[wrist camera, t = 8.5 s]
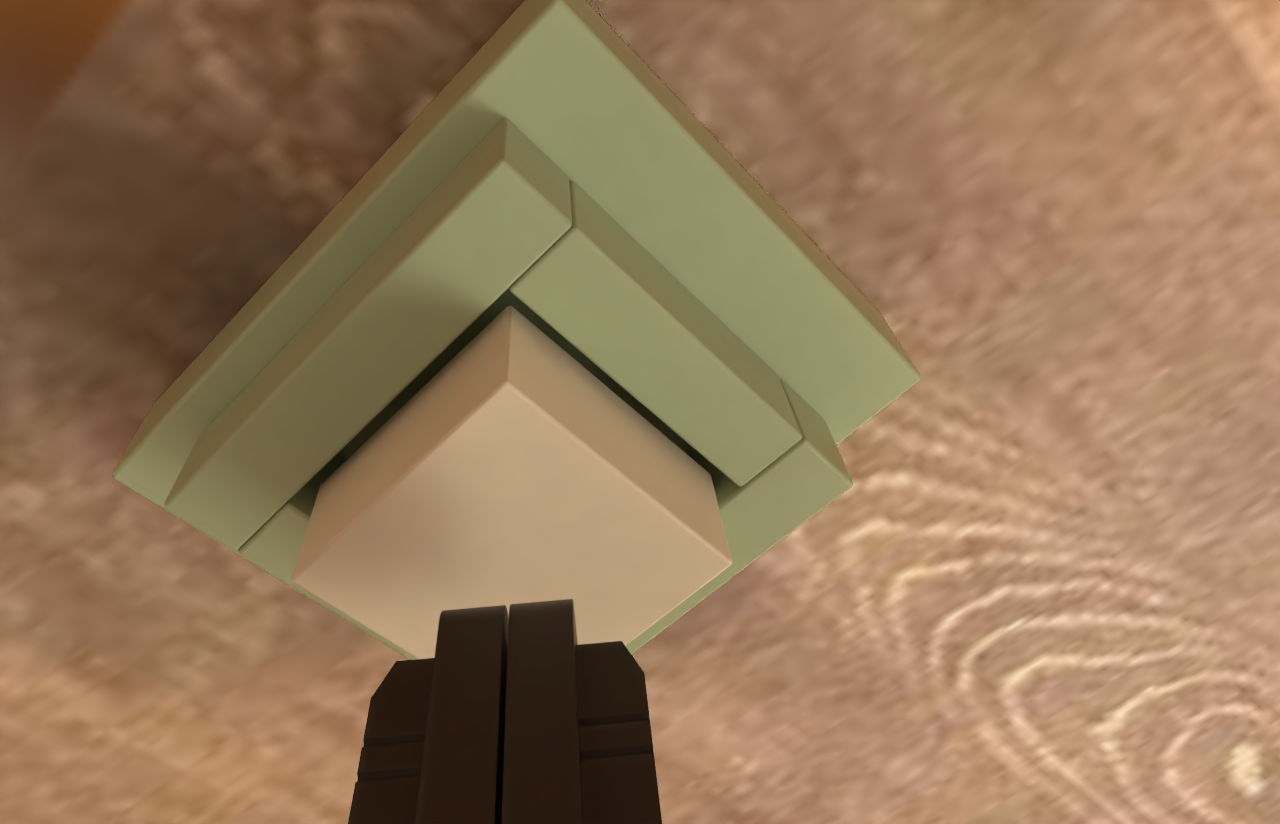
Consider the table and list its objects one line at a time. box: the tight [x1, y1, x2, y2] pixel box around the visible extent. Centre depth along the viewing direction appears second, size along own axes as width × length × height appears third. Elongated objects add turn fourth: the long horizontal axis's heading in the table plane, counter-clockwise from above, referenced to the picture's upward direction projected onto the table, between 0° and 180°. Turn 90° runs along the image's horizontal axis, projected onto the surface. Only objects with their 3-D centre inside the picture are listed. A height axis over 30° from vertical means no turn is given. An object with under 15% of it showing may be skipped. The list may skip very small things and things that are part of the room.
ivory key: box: [292, 305, 732, 659], centre depth 14 cm, size 4×4×2 cm
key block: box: [112, 0, 920, 660], centre depth 16 cm, size 10×8×4 cm
